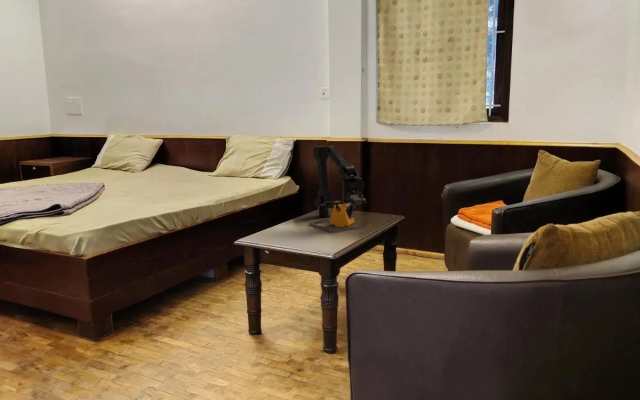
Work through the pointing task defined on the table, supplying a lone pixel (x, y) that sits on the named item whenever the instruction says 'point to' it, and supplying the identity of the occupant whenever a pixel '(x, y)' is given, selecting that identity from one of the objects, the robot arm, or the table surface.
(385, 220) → the table surface
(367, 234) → the table surface
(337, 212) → the bracket
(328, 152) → the robot arm
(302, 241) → the table surface
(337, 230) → the rail bay
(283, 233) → the table surface
